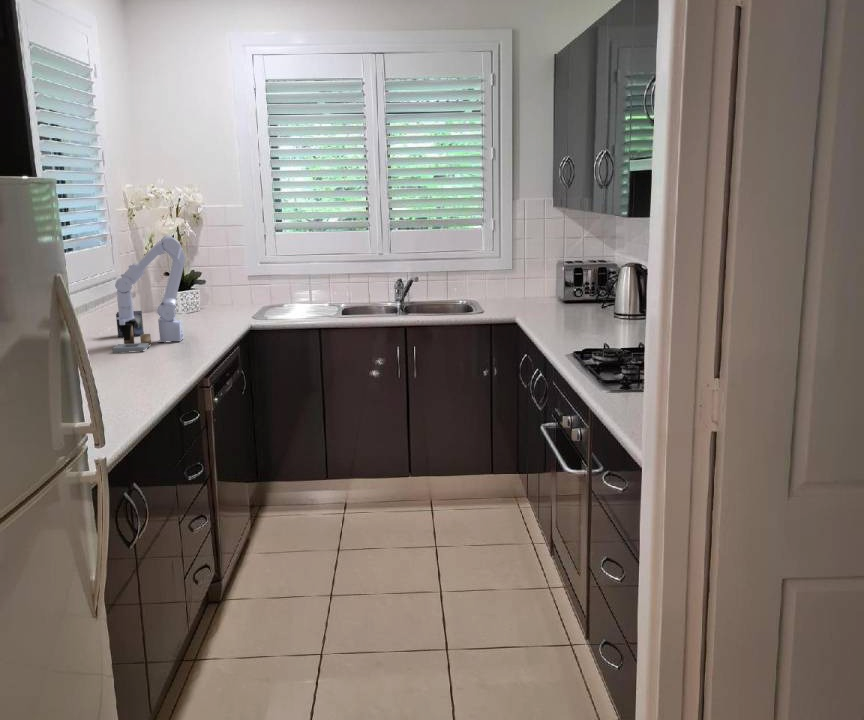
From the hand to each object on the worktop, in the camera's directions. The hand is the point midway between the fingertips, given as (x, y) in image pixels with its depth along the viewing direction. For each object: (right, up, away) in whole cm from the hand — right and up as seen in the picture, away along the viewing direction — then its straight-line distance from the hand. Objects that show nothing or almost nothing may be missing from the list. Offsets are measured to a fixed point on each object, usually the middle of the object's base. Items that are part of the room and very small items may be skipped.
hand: (128, 339), depth 340 cm
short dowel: (+8, -3, -1) cm, 8 cm away
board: (+5, -5, -11) cm, 13 cm away
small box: (-7, +2, +21) cm, 22 cm away
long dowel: (0, -2, +1) cm, 2 cm away
